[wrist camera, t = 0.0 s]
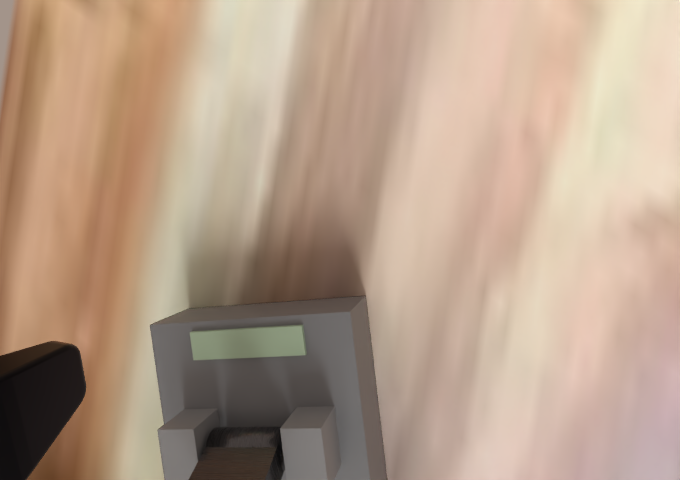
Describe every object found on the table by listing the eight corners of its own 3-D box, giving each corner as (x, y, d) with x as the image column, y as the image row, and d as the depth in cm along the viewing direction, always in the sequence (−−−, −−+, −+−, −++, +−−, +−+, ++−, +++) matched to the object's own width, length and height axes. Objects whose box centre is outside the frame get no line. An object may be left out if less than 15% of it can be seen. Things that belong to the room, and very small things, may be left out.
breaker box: (390, 507, 24) (369, 591, 19) (215, 502, 26) (155, 576, 21) (365, 295, 23) (338, 324, 18) (188, 308, 25) (119, 337, 20)
